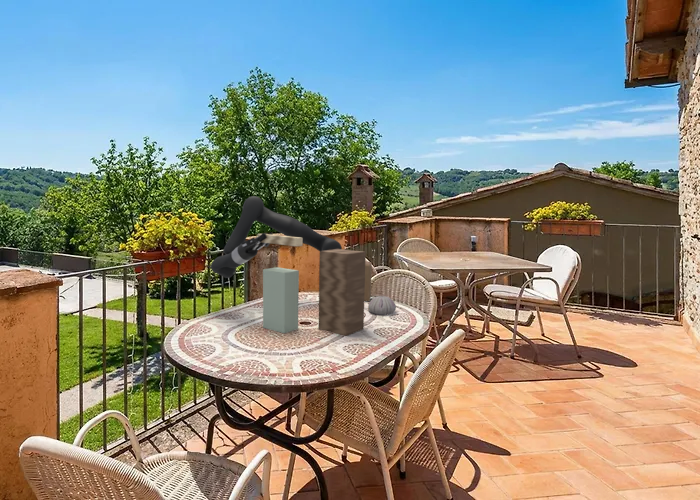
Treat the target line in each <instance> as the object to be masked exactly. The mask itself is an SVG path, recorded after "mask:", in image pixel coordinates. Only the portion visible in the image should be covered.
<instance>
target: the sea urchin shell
mask: <svg viewBox="0 0 700 500" xmlns="http://www.w3.org/2000/svg"><path fill="white" fill-rule="evenodd" d="M367 309H368V311H369V312H370V313H371V314H374V315H377V316H385V314H386V315H387V314H388V315H391V314H394V313H395V312H396V310H397V305H396V303H395V301H394V300H393V299H392V298H391V297H389V296H385V295H377V296H375V297H373V298H372V299H370V301H369V303H368V306H367ZM388 315H387V316H388Z"/></svg>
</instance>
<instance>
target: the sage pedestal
mask: <svg viewBox="0 0 700 500" xmlns="http://www.w3.org/2000/svg"><path fill="white" fill-rule="evenodd" d="M299 278H300V271H299V270H298V269H293V268H283V267H278V266H277V267H271V268H263V269H262V328H263V329H266V330H270V331H273V332H274V331H275V332H277V333H281V334H287V333H289V332H293V331H296V330H299V286H300V285H299V283H300V281H299Z"/></svg>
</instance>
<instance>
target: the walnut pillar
mask: <svg viewBox="0 0 700 500" xmlns="http://www.w3.org/2000/svg"><path fill="white" fill-rule="evenodd" d="M366 254H367V253H366V251H362V250H353V249H333V250H325V251H319V267H318V269H319V272H318V274H319V276H318V277H319V278H318V279H319V282H318V284H319V286H318V289H319V290H318V328H317V329H318V330H319V331H324V332H327V333H333V334H336V335H341V336H344V337H348V336H350V335H353V334H355V333H357V332H360V331H363V330H364V324H365V323H364V322H365V320H364V319H365V302H364V294H365V262H366Z"/></svg>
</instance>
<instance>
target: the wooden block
mask: <svg viewBox="0 0 700 500" xmlns="http://www.w3.org/2000/svg"><path fill="white" fill-rule="evenodd" d="M372 265H373V264H372V262H371V261H365V294H364V301H368V302H370V301H371V297H372V292H371V291H372V273H373V272H372V269H373V268H372V267H373V266H372Z"/></svg>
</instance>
